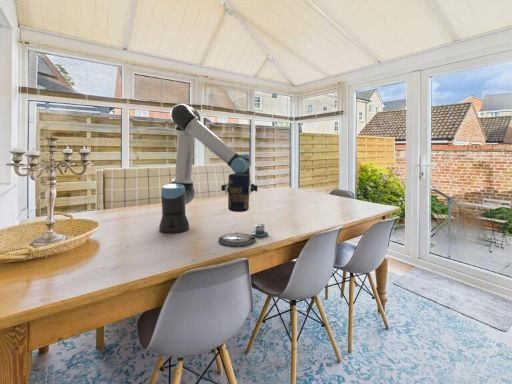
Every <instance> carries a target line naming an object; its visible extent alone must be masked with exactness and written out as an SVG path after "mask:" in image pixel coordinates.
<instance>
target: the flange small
mask: <svg viewBox="0 0 512 384" xmlns="http://www.w3.org/2000/svg"><path fill="white" fill-rule="evenodd" d="M251 235H252V236H254V237H255V238H257V239H259V238H262V239H263V238H267V237H269V233H268V231H265V224H264V223H256V224H255V230H254V231H252V232H251Z"/></svg>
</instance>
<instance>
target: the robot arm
mask: <svg viewBox="0 0 512 384" xmlns="http://www.w3.org/2000/svg"><path fill="white" fill-rule="evenodd" d="M170 120H171V122H172V123H173V124H174V125H175V132H176V133H177V143H176V144H177V145H176V146H177V147H176V157H175V158H176V159H175V162H176V163H175V174H174V178H173V179H172V180H171V183H169V184H164V185H163V186H162V187H161V192H160V195H161V213H162V214H161V219H160V221H159V225H158V226H159V227H158V231H159V232H161V233H164V234H177V233H183V232H186V231H189V230H190V223H189V220H188V218H187V215H186V205H187V204H190V203H191V202H192V201H193V199H194V198H195V195H196V194H195V193H196V192H195V189H194V181H193V180H192V170H193V169H192V168H193V155H194V142H195V139H196V140H197V141H199V142H200V143H201V144H202V145H203V146H205V147H206V148H207V149H208V150H210V152H212V153H213V154H214V155H215V156H217V157H218V158H219V159H220V160H221V161H222V162H224V163H225V164H226V165H227V166H228V167H230V168H231V170H232V172H234V173H236V172H242V173H244V174H247V175H249V195H250V194H251V193H252V192H258V185H257V184H255V183H251V178H250V177H251V175H250V173H251V172H250V171H251V170H250V168H251V167H250V161H251V159H250V154H249V153H237V152H236V151H235V150H233V149H232V148H231V147H230V146H229V145H228V144H227V143H226V142H224V141H223V140H222V139H221V138H220V137H218V136H217V134H215V133H214V132H213V131H211V130H210V129H209V128H208V127H207V126H206V125H204V124H203V123H202V122H201V115H200V113H199V112H198V111H197V110H196V109H195V108H194V107H191V106H190V105H187V104H184V103H179V104H178V103H177V104H176V105H174V106H173V107H172V109H171V111H170ZM242 173H237V174H242ZM220 186H221V187H220V188H221V191H224V192H225V194H228V182H227V183H224V184H222V185H220Z"/></svg>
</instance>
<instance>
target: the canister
mask: <svg viewBox="0 0 512 384" xmlns="http://www.w3.org/2000/svg"><path fill="white" fill-rule="evenodd" d="M237 173H242V172H236V173H235V172H234V173H230V174H229V175H228V182H227V183H228V193H227V195H228V196H227V200H228V201H227V202H228V204H227V208H228V210H229V212H233V213H234V212H235V213H243V212H248V210H249V208H250V207H249V205H250V204H249V203H250V202H249V201H250V194H249V175H247V174H244V173H242V174H237Z"/></svg>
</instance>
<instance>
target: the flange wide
mask: <svg viewBox="0 0 512 384" xmlns="http://www.w3.org/2000/svg"><path fill="white" fill-rule="evenodd" d="M217 239H218V241H217V242H218V244H220V245H222V246H225V247H231V248H242V247H248V246H251V245H253V244H255V243H256V237H254V236H252V234H248V233H243V232H233V233H232V232H231V233H226V234H223V235H220V236H219V237H218V238H217Z"/></svg>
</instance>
